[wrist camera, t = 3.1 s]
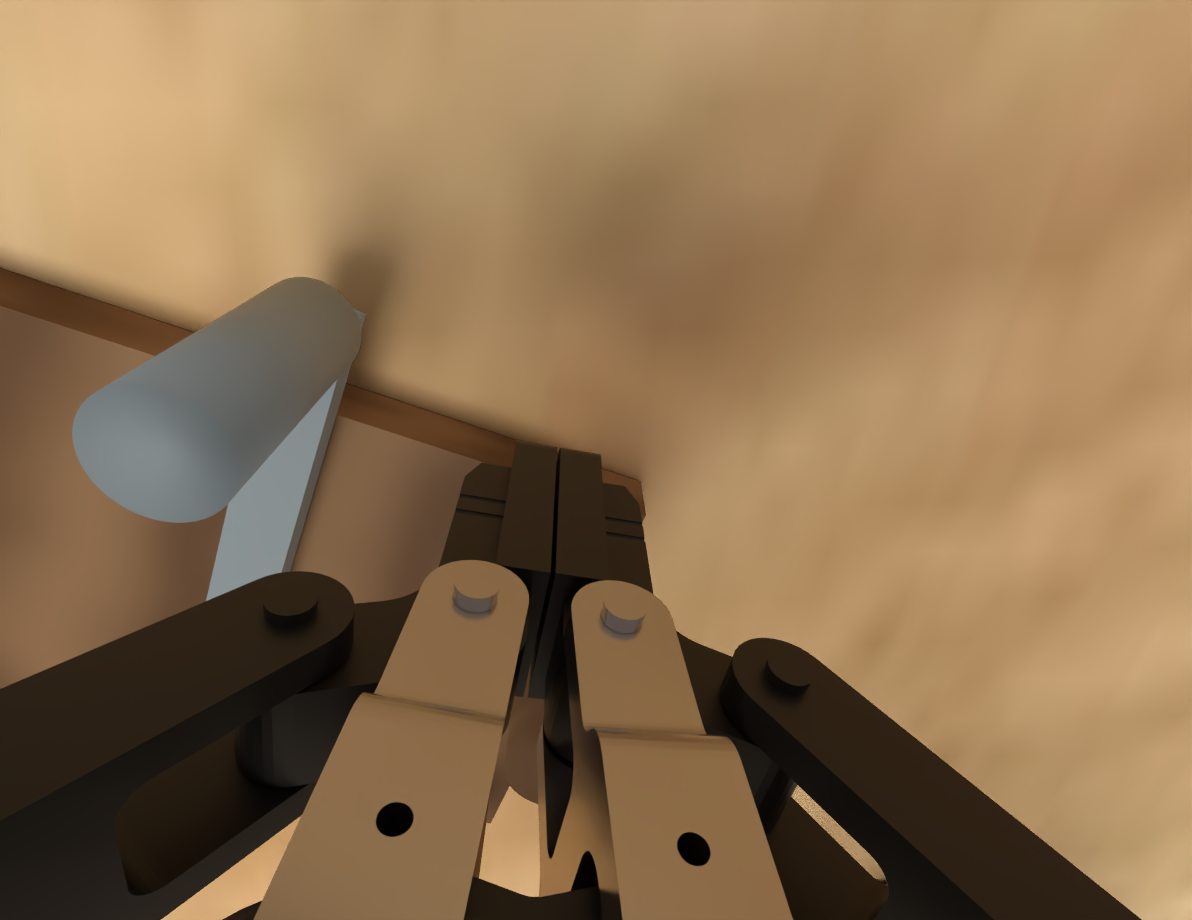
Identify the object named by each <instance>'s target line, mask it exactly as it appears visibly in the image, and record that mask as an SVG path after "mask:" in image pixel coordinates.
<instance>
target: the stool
mask: <svg viewBox="0 0 1192 920" xmlns="http://www.w3.org/2000/svg"><path fill="white" fill-rule="evenodd" d="M191 334H193V332H190V331H187V330H184V329H181V328H178V327H175V326H172V325H169V324H166V323H163V322H160V321H157V320H154V319H151V318H148V317H145V316H142V315H139V314H136V313H133V312H130V311H127V310H124V309H121V308H118V307H115V306H112V305H109V304H106V303H103V302H100V301H97V300H94V299H91V298H88V297H85V296H82V295H79V294H76V293H73V292H70V291H67V290H64V289H61V288H58V287H55V286H52V285H49V284H46V283H43V282H40V281H37V280H34V279H31V278H28V277H25V276H22V275H19V274H16V273H13V272H10V271H7V270H4V269H1V268H0V689H1V688H3V687H6V686H8V685H11V684H13V683H15V682H18V681H20V680H22V679H25V678H27V677H29V676H32V675H34V674H36V673H39V672H41V671H43V670H46V669H48V668H50V667H53V666H55V665H57V664H60V663H62V662H65V661H67V660H69V659H72V658H74V657H76V656H79V655H81V654H83V653H86V652H88V651H90V650H93V649H95V648H97V647H100V646H102V645H104V644H107V643H109V642H111V641H114V640H116V639H119V638H121V637H123V636H126V635H128V634H130V633H133V632H135V631H137V630H140V629H142V628H144V627H147V626H149V625H151V624H154V623H156V622H158V621H161V620H163V619H165V618H168V617H170V616H173V615H175V614H177V613H180V612H182V611H184V610H187V609H189V608H191V607H194V606H196V605H198V604H201V603H203V602H205V601H206V599H207V594H208V590H209V586H210V581H211V577H212V573H213V568H214V564H215V559H216V555H217V551H218V546H219V542H220V538H221V533H222V529H223V525H224V520H225V516H226V511H227V507H228V504H227V505H226V506H225V507H224V508H223V509H222V510H221V511H219V512H218V513H216V514H215V515H213V516H210V517H208V518H206V519H202V520H199V521H194V522H187V523H173V522H164V521H158V520H154V519H151V518H147V517H144V516H142V515H139V514H136V513H134V512H132V511H130V510H128V509H126V508H124V507H123V506H121V505H119V504H118V503H116V502H115V501H113V500H112V499H111V498H109V497H108V496H107V495H106V494H105V493H103V492H102V491H101V490H100V489H99V488H98V487H97V486H96V485H95V484H94V483H93V482H92V480H91V479H90V478H89V477H88V475H87V474H86V472H85V471H84V469H83V468H82V466H81V464H80V462H79V460H78V458H77V455H76V452H75V449H74V445H73V438H72V427H73V422H74V418H75V416H76V413H77V411H78V409H79V408H80V406H81V404H82V403H83V402H84V401H85V400H86V399H87V398H88V397H89V396H91V395H92V394H94V393H95V392H97V391H98V390H100V389H102V388H103V387H105V386H107V385H108V384H110V383H112V382H113V381H115V380H117V379H118V378H120V377H122V376H123V375H125V374H126V373H128V372H130V371H131V370H133V369H135V368H136V367H138V366H140V365H141V364H143V363H145V362H146V361H148V360H150V359H151V358H153V357H155V356H156V355H158V354H160V353H161V352H163V351H165V350H166V349H168V348H170V347H171V346H173V345H175V344H176V343H178V342H180V341H181V340H183V339H185V338H186V337H188V336H190V335H191ZM515 446H516V440H514V439H511V438H508V437H505V436H502V435H499V434H496V433H493V432H490V431H487V430H484V429H481V428H478V427H475V426H472V425H469V424H466V423H463V422H460V421H457V420H454V419H451V418H448V417H445V416H442V415H439V414H436V413H433V412H430V411H427V410H424V409H421V408H418V407H415V406H412V405H409V404H406V403H403V402H400V401H397V400H394V399H391V398H388V397H385V396H382V395H379V394H376V393H373V392H370V391H367V390H364V389H361V388H358V387H355V386H352V385H349V384H346V385H345V388H344V391H343V395H342V398H341V401H340V405H339V408H338V412H337V415H336V418H335V422H334V425H333V428H332V432H331V435H330V439H329V442H328V445H327V449H326V452H325V455H324V459H323V462H322V466H321V469H320V472H319V476H318V479H317V483H316V486H315V489H314V493H313V496H312V499H311V503H310V506H309V510H308V513H307V516H306V520H305V523H304V526H303V530H302V533H301V537H300V540H299V543H298V547H297V550H296V553H295V557H294V560H293V564H292V567H291V570H290V572H291V571H305V572H314V573H319V574H323V575H326V576H329V577H331V578H333V579H335V580H337V581H339V582H340V583H342V584H343V585H344V586H345V587H346V588H347V589H348V590H349V591H350V593H351V595H352V597H353V600H354V604H356V603H366V602H377V601H386V600H392V599H396V598H401V597H404V596H406V595H409V594H412V593H414V592H416V591H418V590H419V589H420V588H421V586H422V583H423V582H424V580H425V578H426V577H427V576H428V575H429V574H430V573H431V572H432V571H434V570H435V569H436V568H438V567H439V564H440V561H441V557H442V554H443V550H444V547H445V543H446V540H447V536H448V533H449V530H450V526H451V523H452V519H453V516H454V512H455V509H456V505H457V502H458V498H459V496H460V491H461V488H462V484H463V481H464V478H465V475H467V474H468V473H469V472H470V471H472V470H473V469H474V468H475V467H477V466H478V465H479V464H480V463H487V464H493V465H499V466H505V467H511V468H512V464H513V458H514V452H515ZM557 456H558V454H557ZM556 461H557V458H556ZM602 480H603V483H609V484H615V485H621V486H625V487H626V488H627V489H628V490H629V492H630V493H631V494H632V495H633V497H634V498H635V499H636V501H637V502H638V503H639V506H640V512H641V519H642V521H643V519H644V517H645V516H646V513H645V506H644V500H643V493H642V487H641V482H640V481H637V480H634V479H631V478H628V477H625V476H622V475H619V474H616V473H613V472H610V471H607V470H604V469H602ZM529 676H530V669H529V673H528V678H527V682H526V687H525V691H524V696H523V697H518V696H514V701H513V706H512V711H511V715H510V720H509V724H508V727H507V729H506V731H505V732H504V734H503V735H502V736H501V741H500V746H499V751H498V755H497V760H496V765H495V770H494V775H493V780H492V785H491V789H490V794H489V799H488V804H487V809H486V814H485V819H484V823H483V828H482V833H481V838H480V843H479V848H478V853H477V857H476V862H475V867H474V872H473V876H474V877H476V878H479V872H480V865H481V857H482V850H483V842H484V835H485V827H486V822H487V823H491V821H492V819H493V817H494V815H495V813H496V811H497V809H498V807H499V805H500V803H501V802H502V800H503V798H504V796H505V794H506V792H507V790H508V788H509V786H511V787H512V788H513V790H514V791H515V792H517V793H518V794H519V795H521V796H522V797H524V798H525V799H527V800H529V801H532V802H534V803H537V804H538V772H537V743H538V739H539V735H540V730H541V726H542V722H543V718H544V699H537V698H528V688H529Z"/></svg>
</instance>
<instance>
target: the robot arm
mask: <svg viewBox="0 0 1192 920" xmlns="http://www.w3.org/2000/svg"><path fill="white" fill-rule="evenodd" d="M556 458H557V461H556ZM529 669H530V676H529V688H528V698H537V699H544V718H543V722H542V726H541V730H540V735H539V739H538V743H537V772H538V808H539V845H540V889H539V897H528V896H525V895H521V894H519V893H516V892H513V891H511V890H508V889H505V888H503V887H500V886H497V885H495V884H492V883H490V882H487V881H484V880H482V879H479V878H476V877H474V876H473V872H474V867H475V862H476V857H477V853H478V848H479V843H480V838H481V833H482V828H483V823H484V819H485V814H486V809H487V804H488V799H489V794H490V789H491V785H492V780H493V775H494V770H495V765H496V760H497V755H498V751H499V746H500V741H501V736H502V735H503V734H504V732H505V731H506V729H507V727H508V724H509V720H510V715H511V711H512V706H513V701H514V696H518V697H523V696H524V691H525V687H526V682H527V678H528V673H529ZM797 785H799V786H800V787H801V788H802V789H803V790H804V791H805V792H806V793H807V794H808V795H809V796H810V797H811V798H812V799H813V800H814V801H815V802H816V803H817V804H818V805H819V806H820V807H821V808H823V809H824V810H825V811H826V812H827V813H828V814H829V815H830V816H831V817H832V818H833V819H834V820H835V821H836V822H837V823H838V824H839V825H840V826H841V827H842V828H843V829H844V830H845V831H846V832H847V833H848V834H850V835H851V836H852V837H853V838H854V839H855V840H856V841H857V842H858V843H859V844H860V845H861V846H862V847H863V848H864V849H865V850H866V851H867V852H868V853H869V854H870V855H871V856H872V857H873V858H874V859H875V860H876V862H877V863H878V864H879V866H880V867H881V869H882V871H883V873H884V875H885V877H886V880H887V883H888V884H883V883H881V882H879V881H878V880H876V879H875V878H873V877H872V876H871V875H870V874H869V873H868V872H867V871H866V870H865V869H864V868H863V867H862V866H861V865H860V864H859V863H858V862H857V861H856V860H855V859H854V858H853V857H852V856H851V855H850V854H849V853H848V852H847V851H846V850H845V849H844V848H843V847H842V846H841V845H840V844H839V843H838V842H837V841H835V840H834V839H833V838H832V837H831V836H830V835H829V834H828V833H827V832H826V831H825V830H824V829H823V828H822V827H821V826H820V825H819V824H818V823H817V822H816V821H815V820H814V819H813V818H812V817H811V816H810V815H809V814H808V813H807V812H806V811H805V810H804V809H803V808H802V807H801V806H800V805H799V804H798V803H797V802H796V801H795V800H794V799H793V798H792V797H791V796H792V794H793V792H794V790H795V788H796V786H797ZM301 815H302V816H301ZM300 816H301V818H300V821H299V823H298V825H297V827H296V829H295V831H294V833H293V836H292V838H291V840H290V842H289V844H288V846H287V849H286V851H285V853H284V855H283V857H282V859H281V861H280V864H279V866H278V868H277V870H276V872H275V874H274V877H273V879H272V881H271V883H270V885H269V887H268V889H267V892H266V894H265V896H264V898H263V900H262V901H260V902H258V903H255V904H253V905H251V906H248V907H246V908H243V909H241V910H239V911H237V912H236V913H234V914H232V915H230V916H228V917H226V918H225V919H223V920H1141V919H1140V918H1139V917H1138V916H1136V915H1135V914H1134V913H1133V912H1131V911H1130V910H1129V909H1128V908H1126V907H1125V906H1124V905H1123V904H1121V903H1120V902H1119V901H1118V900H1116V899H1115V898H1114V897H1113V896H1111V895H1110V894H1109V893H1108V892H1106V891H1105V890H1104V889H1103V888H1101V887H1100V886H1099V885H1098V884H1096V883H1095V882H1094V881H1093V880H1091V879H1090V878H1089V877H1088V876H1086V875H1085V874H1084V873H1083V872H1081V871H1080V870H1079V869H1078V868H1076V867H1075V866H1074V865H1073V864H1071V863H1070V862H1069V861H1068V860H1066V859H1065V858H1064V857H1063V856H1062V855H1060V854H1059V853H1058V852H1057V851H1055V850H1054V849H1053V848H1052V847H1050V846H1049V845H1048V844H1047V843H1045V842H1044V841H1043V840H1042V839H1040V838H1039V837H1038V836H1037V835H1035V834H1034V833H1033V832H1032V831H1030V830H1029V829H1028V828H1027V827H1025V826H1024V825H1023V824H1022V823H1020V822H1019V821H1018V820H1017V819H1015V818H1014V817H1013V816H1012V815H1010V814H1009V813H1008V812H1007V811H1005V810H1004V809H1003V808H1002V807H1000V806H999V805H998V804H997V803H995V802H994V801H993V800H992V799H990V798H989V797H988V796H987V795H985V794H984V793H983V792H982V791H980V790H979V789H978V788H977V787H975V786H974V785H973V784H972V783H971V782H969V781H968V780H967V779H966V778H964V777H963V776H962V775H961V774H959V773H958V772H957V771H956V770H954V769H953V768H952V767H951V766H949V765H948V764H947V763H946V762H944V761H943V760H942V759H941V758H939V757H938V756H937V755H936V754H934V753H933V752H932V751H931V750H929V749H928V748H927V747H926V746H924V745H923V744H922V743H921V742H919V741H918V740H917V739H916V738H914V737H913V736H912V735H911V734H909V733H908V732H907V731H906V730H904V729H903V728H902V727H901V726H899V725H898V724H897V723H896V722H894V721H893V720H892V719H891V718H889V717H888V716H887V715H886V714H884V713H883V712H882V711H881V710H880V709H878V708H877V707H876V706H875V705H873V704H872V703H871V702H870V701H868V700H867V699H866V698H865V697H863V696H862V695H861V694H860V693H858V692H857V691H856V690H855V689H853V688H852V687H851V686H850V685H848V684H847V683H846V682H845V681H843V680H842V679H841V678H840V677H838V676H837V675H836V674H835V673H833V672H832V671H831V670H830V669H828V668H827V667H826V666H825V665H823V664H822V663H821V662H820V661H818V660H817V659H816V658H815V657H813V656H812V655H810V654H809V653H808V652H806V651H804V650H802V649H801V648H799V647H797V646H795V645H792V644H790V643H787V642H784V641H781V640H776V639H770V638H756V639H751V640H748V641H746V642H744V643H742V644H741V645H739V646H738V648H737V649H736V650H735V652H734V655H733V657H731V656H729V655H726V654H723V653H721V652H718V651H716V650H713V649H711V648H708V647H705V646H703V645H700V644H698V643H696V642H694V641H692V640H690V639H688V638H686V637H685V636H683V635H682V634H680V633H679V632H677V631H676V629H675V626H674V622H673V619H672V616H671V614H670V612H669V610H668V609H667V607H666V606H665V605H664V604H663V602H662V601H661V600H659V599H658V598H657V597H656V596H655V595H653V589H652V583H651V577H650V570H649V564H648V557H647V551H646V544H645V542H644V531H643V526H642V519H641V512H640V506H639V503H638V502H637V501H636V499H635V498H634V497H633V495H632V494H631V493H630V492H629V490H628V489H627V488H626V487H625V486H621V485H615V484H609V483H603V480H602V466H601V455H600V454H595V453H589V452H583V451H577V450H571V449H565V448H560V449H559V452H558V456H557V447H553V446H547V445H541V444H535V443H529V442H523V441H518V440H516V446H515V452H514V458H513V464H512V468H511V467H505V466H499V465H493V464H487V463H480V464H479V465H478V466H477V467H475V468H474V469H473V470H472V471H470V472H469V473H468V474H467V475H465V478H464V481H463V484H462V488H461V491H460V496H459V498H458V502H457V505H456V509H455V512H454V516H453V519H452V523H451V526H450V530H449V533H448V536H447V540H446V543H445V547H444V550H443V554H442V557H441V561H440V564H439V567H438V568H436V569H435V570H434V571H432V572H431V573H430V574H429V575H428V576H427V577H426V578H425V580H424V582H423V583H422V586H421V588H420V589H419V590H418V591H416V592H414V593H412V594H409V595H406V596H404V597H401V598H396V599H392V600H386V601H377V602H366V603H356V604H354V600H353V597H352V595H351V593H350V591H349V590H348V589H347V588H346V587H345V586H344V585H343V584H342V583H340V582H339V581H337V580H335V579H333V578H331V577H329V576H326V575H323V574H319V573H314V572H305V571H291V572H282V573H276V574H272V575H268V576H265V577H262V578H260V579H257V580H255V581H252V582H250V583H248V584H245V585H243V586H241V587H238V588H236V589H234V590H231V591H229V592H227V593H224V594H222V595H219V596H217V597H215V598H212V599H210V600H208V601H205V602H203V603H201V604H198V605H196V606H194V607H191V608H189V609H187V610H184V611H182V612H180V613H177V614H175V615H173V616H170V617H168V618H165V619H163V620H161V621H158V622H156V623H154V624H151V625H149V626H147V627H144V628H142V629H140V630H137V631H135V632H133V633H130V634H128V635H126V636H123V637H121V638H119V639H116V640H114V641H111V642H109V643H107V644H104V645H102V646H100V647H97V648H95V649H93V650H90V651H88V652H86V653H83V654H81V655H79V656H76V657H74V658H72V659H69V660H67V661H65V662H62V663H60V664H57V665H55V666H53V667H50V668H48V669H46V670H43V671H41V672H39V673H36V674H34V675H32V676H29V677H27V678H25V679H22V680H20V681H18V682H15V683H13V684H11V685H8V686H6V687H3V688H1V689H0V920H161V919H162V918H164V917H165V916H166V915H168V914H169V913H170V912H172V911H173V910H174V909H176V908H177V907H178V906H180V905H181V904H183V903H184V902H185V901H187V900H188V899H189V898H191V897H192V896H193V895H195V894H196V893H197V892H199V891H200V890H201V889H203V888H204V887H205V886H207V885H208V884H209V883H211V882H212V881H213V880H215V879H216V878H218V877H219V876H220V875H222V874H223V873H224V872H226V871H227V870H228V869H230V868H231V867H232V866H234V865H235V864H236V863H238V862H239V861H240V860H242V859H243V858H244V857H246V856H247V855H248V854H250V853H251V852H253V851H254V850H255V849H257V848H258V847H259V846H261V845H262V844H263V843H265V842H266V841H267V840H269V839H270V838H271V837H273V836H274V835H275V834H277V833H278V832H279V831H281V830H282V829H284V828H285V827H286V826H288V825H289V824H290V823H292V822H293V821H294V820H296V819H297V818H298V817H300Z"/></svg>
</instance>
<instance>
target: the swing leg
mask: <svg viewBox="0 0 1192 920" xmlns="http://www.w3.org/2000/svg"><path fill="white" fill-rule="evenodd" d="M365 317H366V314H365V313H363V312H360V311H358V310H356V309H354V308H353V307H352V305H351V304H350V302H349V301H348V300H347V299H346V298H345V297H344V296H343V295H342V294H341V293H340V292H339V291H337V290H336V289H335V288H333V287H332V286H330V285H328V284H326V283H324V282H322V281H319V280H316V279H312V278H305V277H294V278H288V279H285V280H282V281H280V282H278V283H276V284H274V285H273V286H271V287H269V288H268V289H266V290H264V291H263V292H261V293H259V294H258V295H256V296H255V297H253V298H251V299H250V300H248V301H246V302H245V303H243V304H241V305H240V306H238V307H236V308H235V309H233V310H231V311H230V312H228V313H226V314H225V315H223V316H221V317H220V318H218V319H216V320H215V321H213V322H211V323H210V324H208V325H206V326H205V327H203V328H201V329H200V330H198V331H196V332H195V333H193V334H191V335H190V336H188V337H186V338H185V339H183V340H181V341H180V342H178V343H176V344H175V345H173V346H171V347H170V348H168V349H166V350H165V351H163V352H161V353H160V354H158V355H156V356H155V357H153V358H151V359H150V360H148V361H146V362H145V363H143V364H141V365H140V366H138V367H136V368H135V369H133V370H131V371H130V372H128V373H126V374H125V375H123V376H122V377H120V378H118V379H117V380H115V381H113V382H112V383H110V384H108V385H107V386H105V387H103V388H102V389H100V390H98V391H97V392H95V393H94V394H92V395H91V396H89V397H88V398H87V399H86V400H85V401H84V402H83V403H82V404H81V406H80V408H79V409H78V411H77V413H76V416H75V418H74V422H73V427H72V438H73V445H74V449H75V452H76V455H77V458H78V460H79V462H80V464H81V466H82V468H83V469H84V471H85V472H86V474H87V475H88V477H89V478H90V479H91V480H92V482H93V483H94V484H95V485H96V486H97V487H98V488H99V489H100V490H101V491H102V492H103V493H105V494H106V495H107V496H108V497H109V498H111V499H112V500H113V501H115V502H116V503H118V504H119V505H121V506H123V507H124V508H126V509H128V510H130V511H132V512H134V513H136V514H139V515H142V516H144V517H147V518H151V519H154V520H158V521H164V522H173V523H187V522H194V521H199V520H202V519H206V518H208V517H210V516H213V515H215V514H216V513H218V512H219V511H221V510H222V509H223V508H224V507H225V506H226V505H227V504H228V507H227V511H226V516H225V520H224V525H223V529H222V533H221V538H220V542H219V546H218V551H217V555H216V559H215V564H214V568H213V573H212V577H211V581H210V586H209V590H208V594H207V599H206V601H208V600H210V599H212V598H215V597H217V596H219V595H222V594H224V593H227V592H229V591H231V590H234V589H236V588H238V587H241V586H243V585H245V584H248V583H250V582H252V581H255V580H257V579H260V578H262V577H265V576H268V575H272V574H276V573H282V572H290V570H291V567H292V564H293V560H294V557H295V553H296V550H297V547H298V543H299V540H300V537H301V533H302V530H303V526H304V523H305V520H306V516H307V513H308V510H309V506H310V503H311V499H312V496H313V493H314V489H315V486H316V483H317V479H318V476H319V472H320V469H321V466H322V462H323V459H324V455H325V452H326V449H327V445H328V442H329V439H330V435H331V432H332V428H333V425H334V422H335V418H336V415H337V412H338V408H339V405H340V401H341V398H342V395H343V391H344V388H345V385H346V381H347V378H348V374H349V371H350V368H351V364H352V362H353V360H354V359H355V358H356V356H357V354H358V352H359V349H360V346H361V340H362V332H361V331H362V327H363V324H364V320H365Z"/></svg>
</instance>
